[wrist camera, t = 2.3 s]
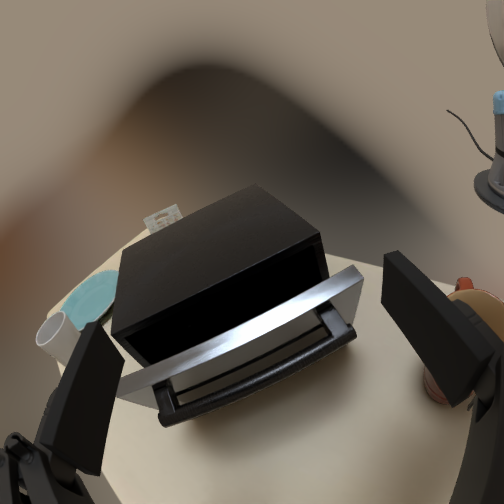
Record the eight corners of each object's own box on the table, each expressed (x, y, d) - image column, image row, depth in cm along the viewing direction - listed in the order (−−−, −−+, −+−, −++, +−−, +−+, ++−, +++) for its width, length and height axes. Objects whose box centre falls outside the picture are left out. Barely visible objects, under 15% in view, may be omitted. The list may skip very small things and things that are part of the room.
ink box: (165, 251, 69) (143, 214, 63) (198, 238, 68) (177, 199, 62) (163, 257, 67) (141, 219, 60) (197, 244, 66) (176, 203, 60)
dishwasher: (340, 333, 34) (319, 231, 25) (189, 406, 32) (110, 335, 23) (285, 265, 49) (255, 183, 40) (173, 320, 47) (122, 249, 38)
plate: (143, 277, 62) (136, 268, 61) (89, 350, 47) (80, 342, 45) (97, 276, 73) (92, 268, 71) (52, 331, 57) (46, 324, 56)
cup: (73, 376, 42) (31, 337, 35) (95, 348, 47) (57, 307, 41) (90, 392, 38) (42, 351, 31) (114, 360, 43) (70, 316, 36)
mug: (481, 412, 17) (520, 367, 12) (410, 413, 22) (429, 371, 16) (478, 325, 25) (499, 264, 20) (419, 325, 30) (428, 265, 24)
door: (360, 362, 30) (388, 308, 18) (201, 439, 28) (125, 433, 16) (341, 332, 33) (353, 263, 21) (188, 407, 31) (112, 380, 19)
